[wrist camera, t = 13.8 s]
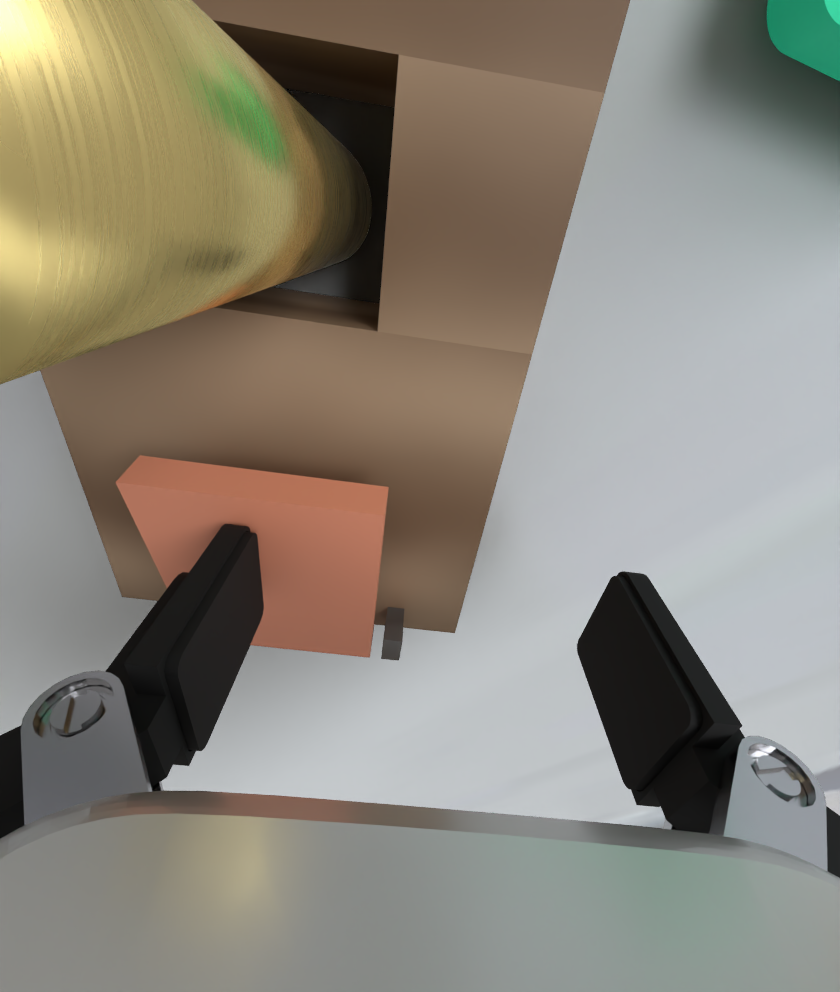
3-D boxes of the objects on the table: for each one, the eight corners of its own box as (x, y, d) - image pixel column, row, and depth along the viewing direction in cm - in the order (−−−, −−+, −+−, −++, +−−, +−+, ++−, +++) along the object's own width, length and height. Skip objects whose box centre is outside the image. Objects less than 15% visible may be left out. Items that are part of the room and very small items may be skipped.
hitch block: (38, -95, 9) (-369, -432, 4) (579, 11, 10) (713, -185, 5) (179, 528, 18) (95, 628, 14) (450, 560, 19) (456, 666, 14)
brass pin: (261, 124, 11) (-2216, -1403, 1) (376, 144, 11) (-271, -861, 1) (268, 256, 12) (-445, 373, 2) (368, 271, 13) (113, 445, 2)
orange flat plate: (140, 455, 10) (114, 482, 9) (388, 487, 10) (384, 515, 10) (204, 612, 15) (191, 638, 14) (373, 630, 15) (369, 657, 14)
